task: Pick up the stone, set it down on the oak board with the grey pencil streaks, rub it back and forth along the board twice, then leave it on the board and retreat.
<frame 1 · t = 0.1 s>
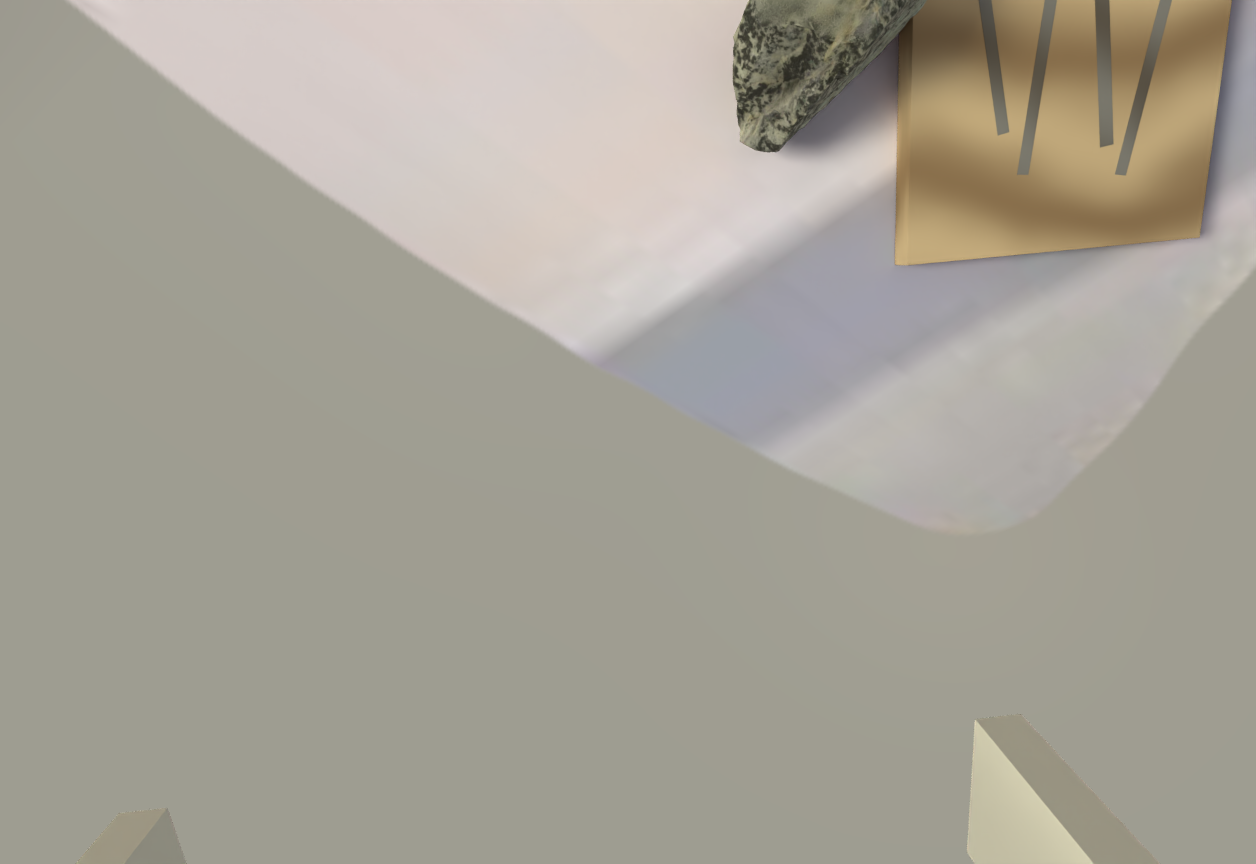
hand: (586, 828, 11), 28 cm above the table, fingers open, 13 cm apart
board: (1050, 52, 34), on the table
stone: (800, 32, 33), on the table
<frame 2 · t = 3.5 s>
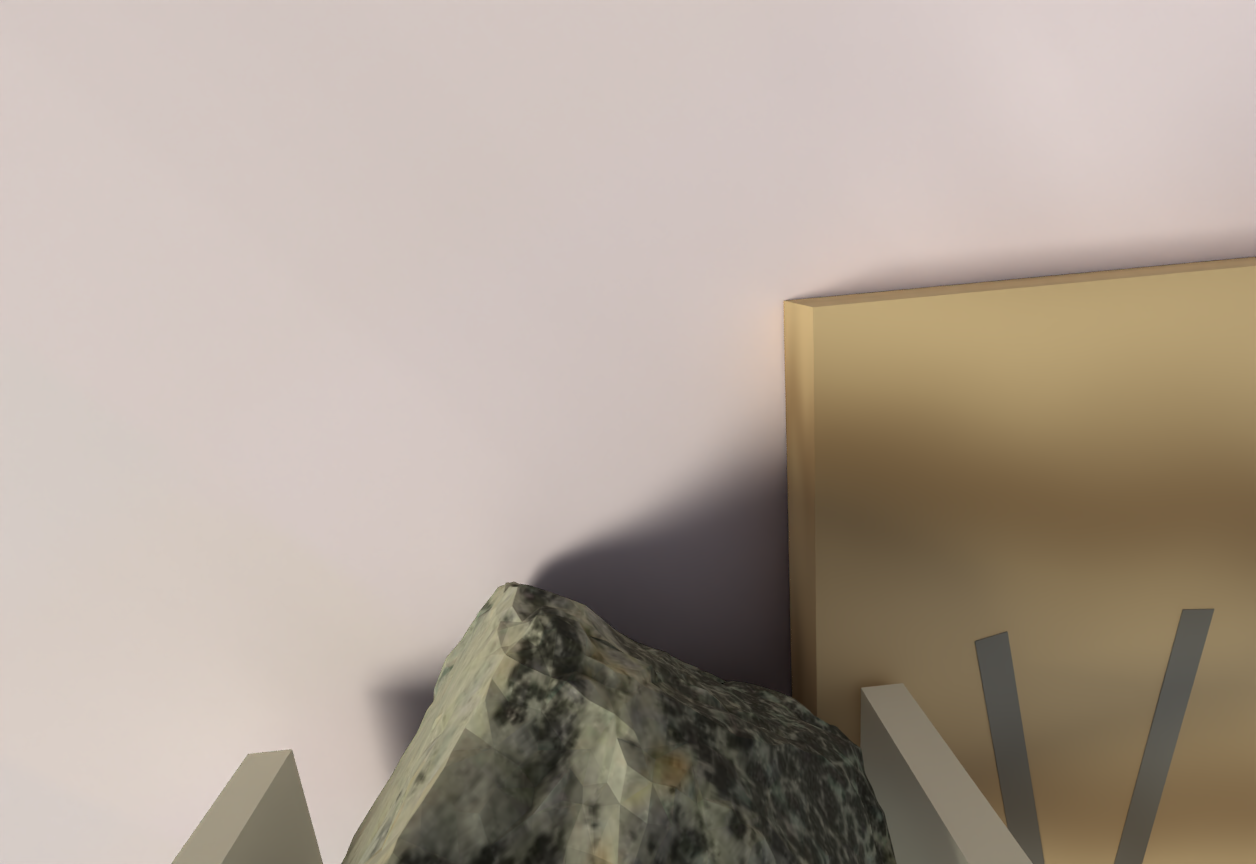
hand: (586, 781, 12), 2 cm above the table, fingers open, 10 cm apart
board: (1151, 728, 14), on the table
stone: (558, 715, 13), on the table, touching board, gripper
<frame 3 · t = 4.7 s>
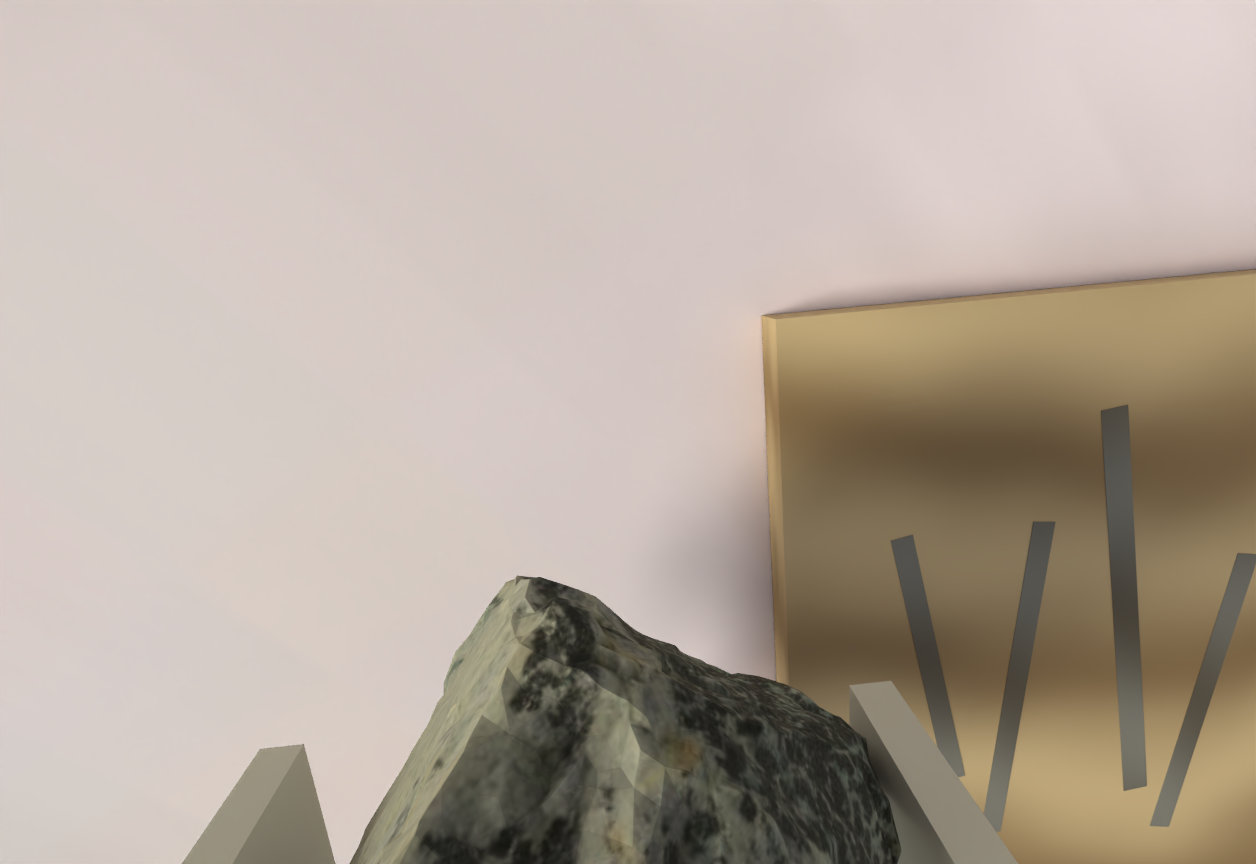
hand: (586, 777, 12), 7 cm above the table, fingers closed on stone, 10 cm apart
board: (1035, 622, 20), on the table
stone: (565, 709, 14), point 6 cm above the table, touching gripper
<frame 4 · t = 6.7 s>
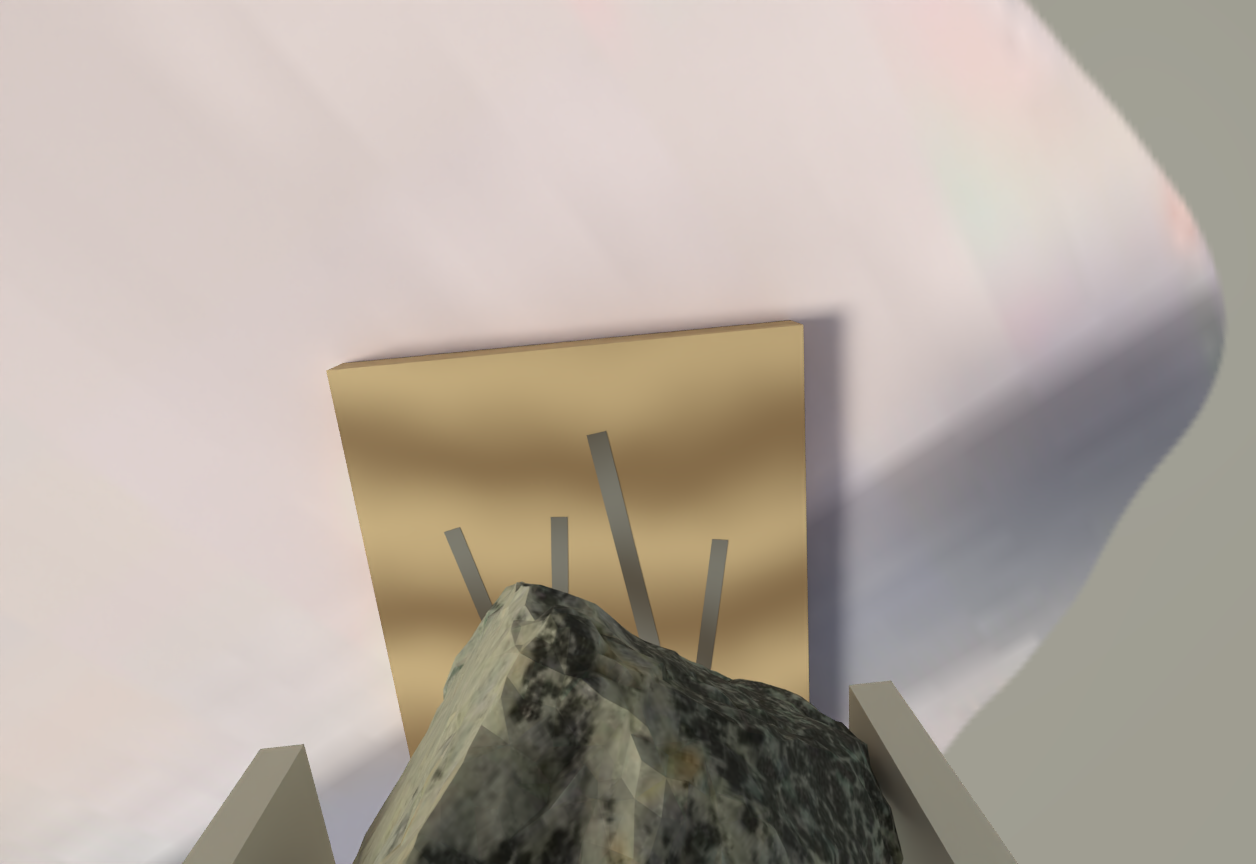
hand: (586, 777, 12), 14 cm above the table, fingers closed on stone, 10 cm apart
board: (597, 591, 26), on the table
stone: (565, 713, 13), point 12 cm above the table, touching gripper
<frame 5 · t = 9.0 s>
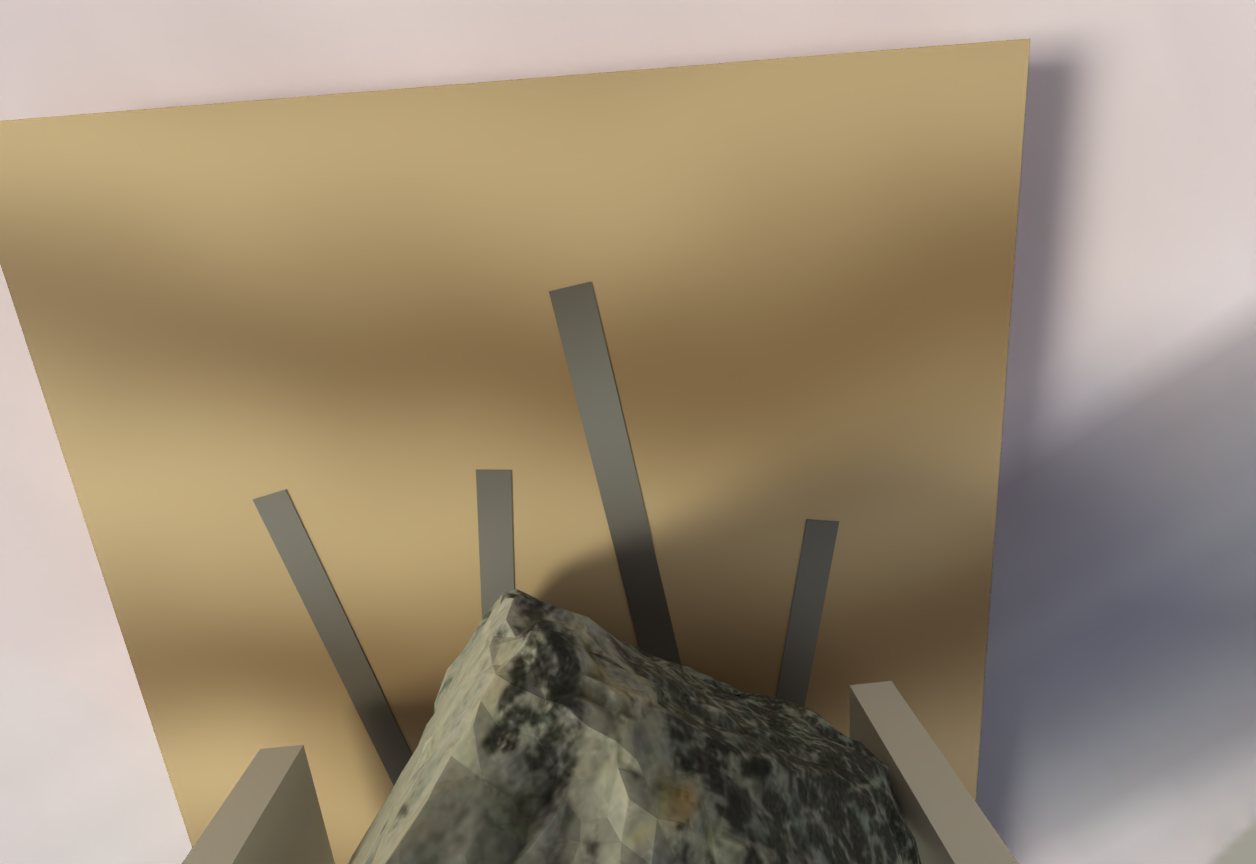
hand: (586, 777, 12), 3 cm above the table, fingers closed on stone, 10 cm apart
board: (576, 620, 14), on the table
stone: (568, 726, 13), point 1 cm above the table, touching gripper
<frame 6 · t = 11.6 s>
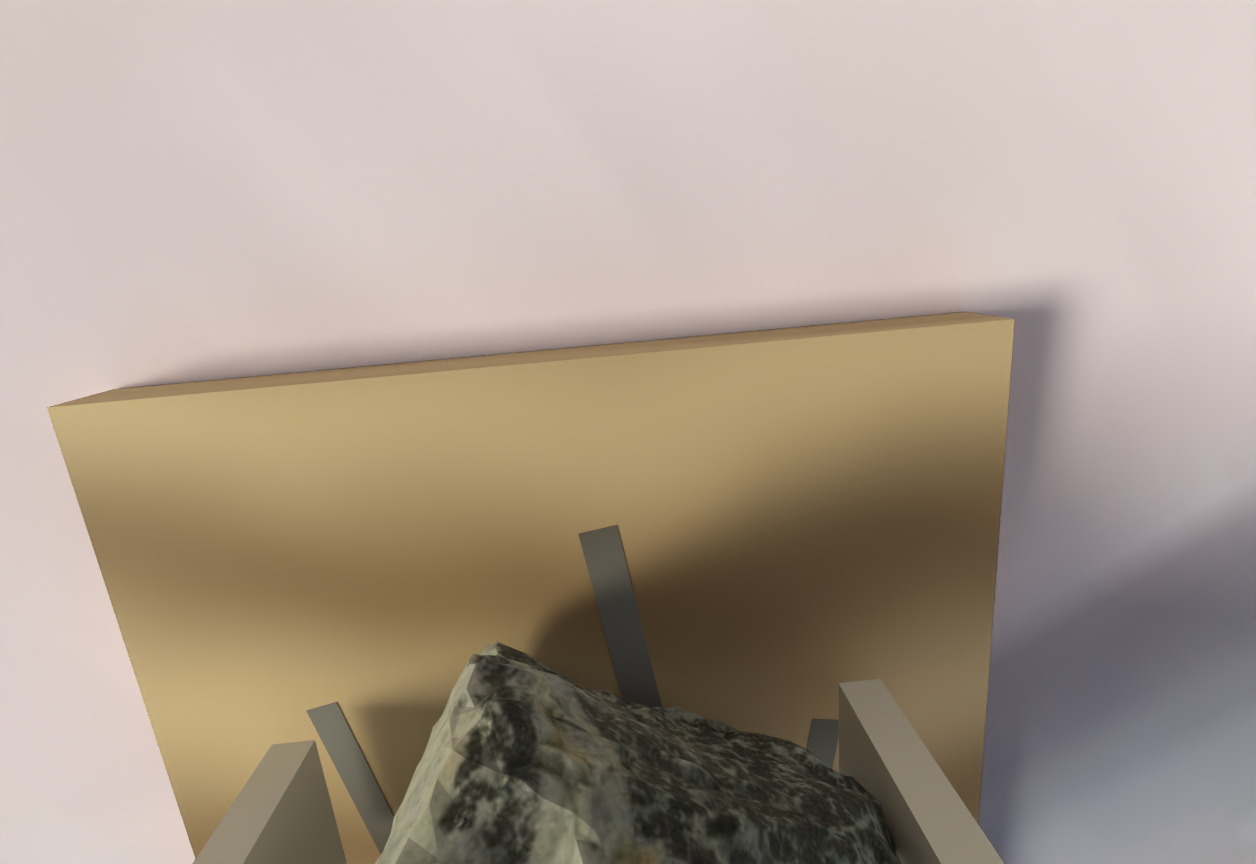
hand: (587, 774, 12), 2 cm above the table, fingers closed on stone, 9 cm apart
board: (597, 786, 15), on the table
stone: (563, 773, 13), point 2 cm above the table, touching gripper
when the fingers open (3 cm above the table, at t = 13.8 s): stone stays where it is, resting on board.
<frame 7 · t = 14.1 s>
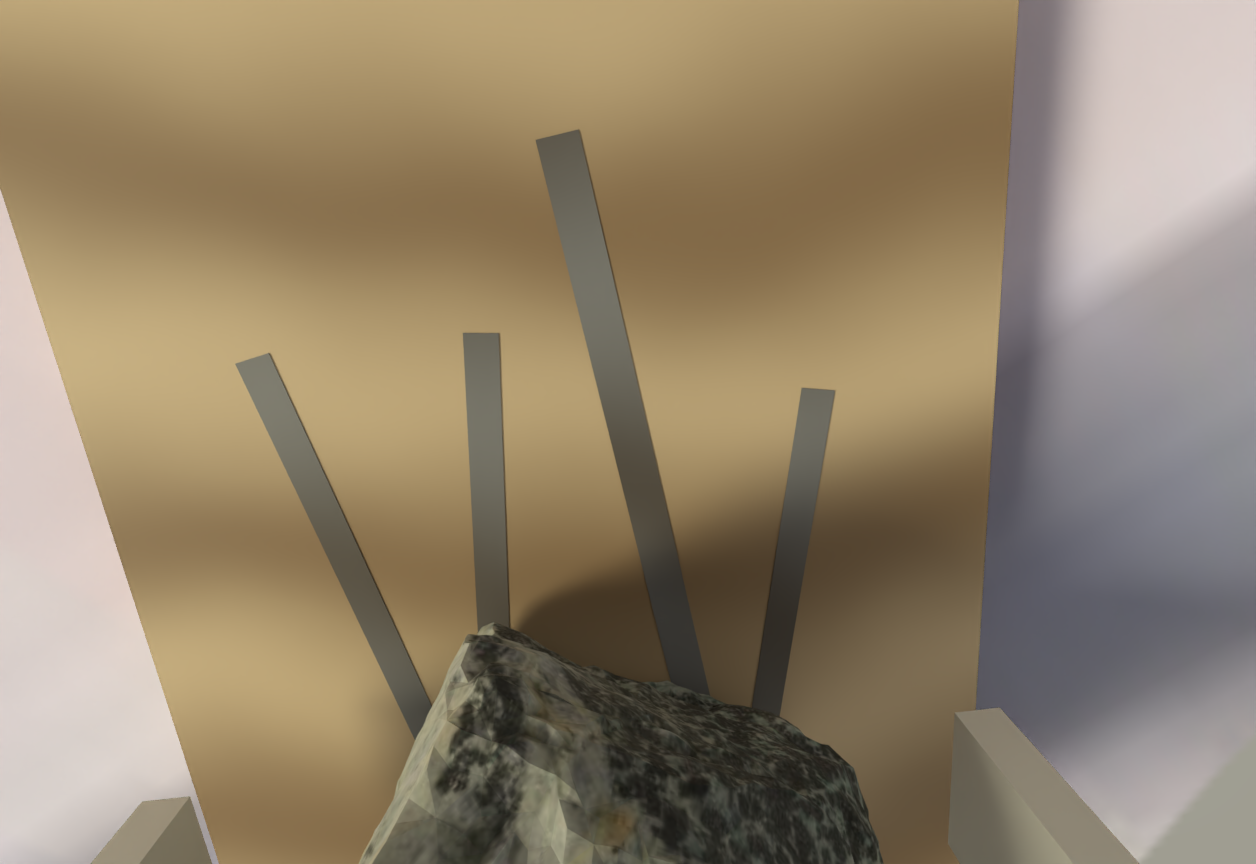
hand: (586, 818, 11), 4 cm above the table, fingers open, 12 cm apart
board: (568, 511, 14), on the table
stone: (561, 744, 13), point 1 cm above the table, touching board
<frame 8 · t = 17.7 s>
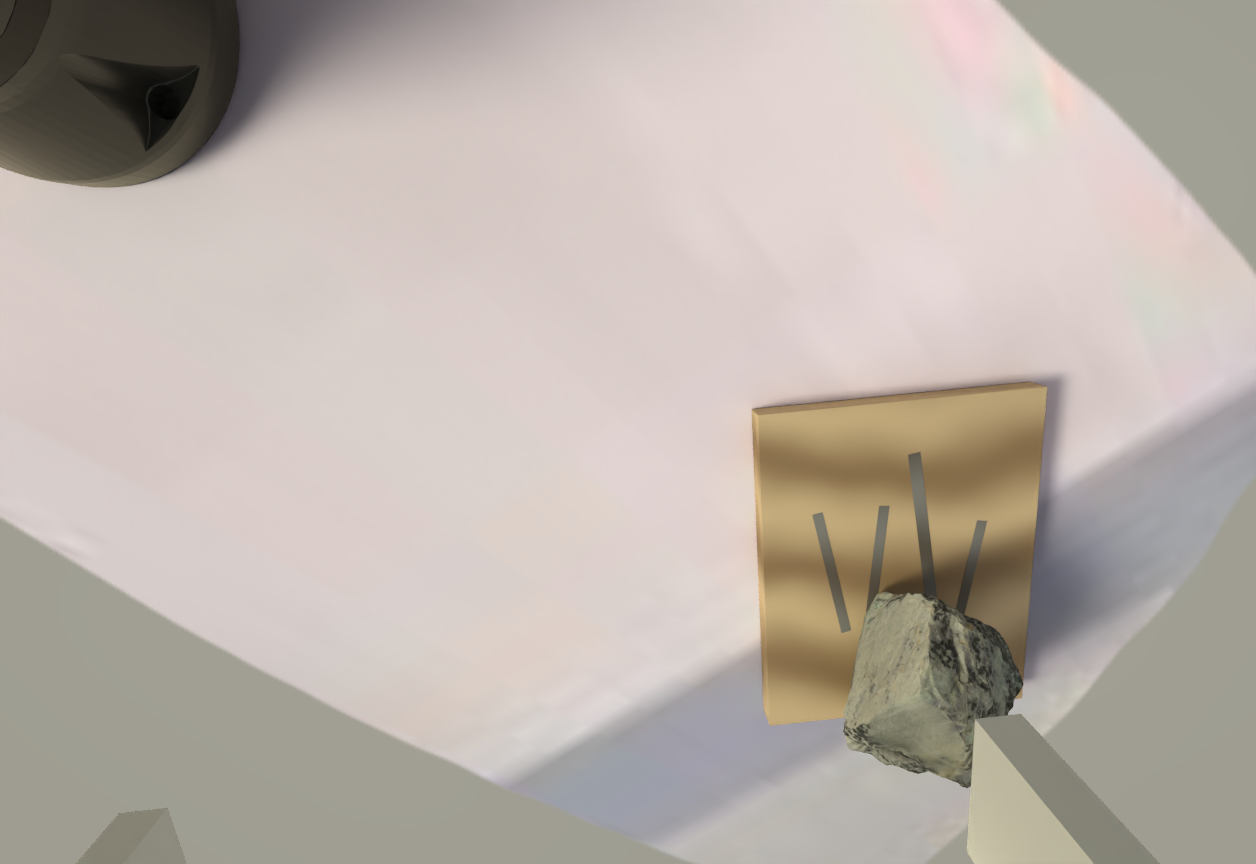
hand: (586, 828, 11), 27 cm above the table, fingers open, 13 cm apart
board: (888, 555, 39), on the table
stone: (886, 635, 39), point 1 cm above the table, touching board
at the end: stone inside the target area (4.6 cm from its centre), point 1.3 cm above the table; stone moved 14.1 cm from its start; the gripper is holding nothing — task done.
